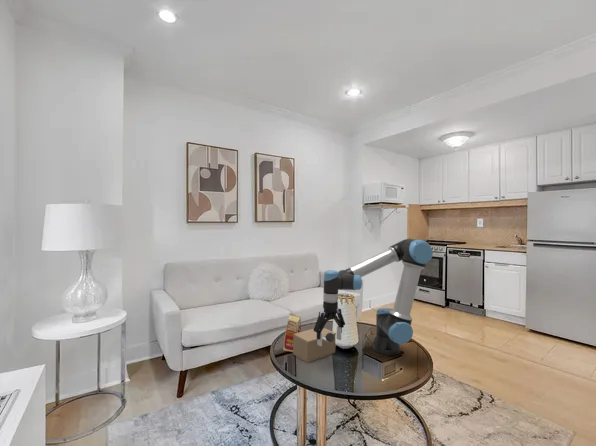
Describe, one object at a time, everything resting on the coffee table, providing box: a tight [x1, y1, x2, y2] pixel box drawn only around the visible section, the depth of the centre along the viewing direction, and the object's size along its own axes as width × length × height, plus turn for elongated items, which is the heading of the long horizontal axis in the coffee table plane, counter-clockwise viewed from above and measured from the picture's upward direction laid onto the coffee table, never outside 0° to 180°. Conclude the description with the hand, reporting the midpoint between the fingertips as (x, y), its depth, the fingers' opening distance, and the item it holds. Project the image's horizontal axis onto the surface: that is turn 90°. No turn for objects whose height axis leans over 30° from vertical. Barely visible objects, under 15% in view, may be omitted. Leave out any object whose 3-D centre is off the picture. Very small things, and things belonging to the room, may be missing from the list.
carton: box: [292, 335, 336, 363], centre depth 159 cm, size 12×20×10 cm, turn 127°
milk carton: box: [282, 312, 303, 353], centre depth 166 cm, size 9×9×20 cm
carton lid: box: [293, 327, 337, 343], centre depth 156 cm, size 20×20×5 cm
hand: (329, 342), depth 150 cm, fingers open, 13 cm apart
